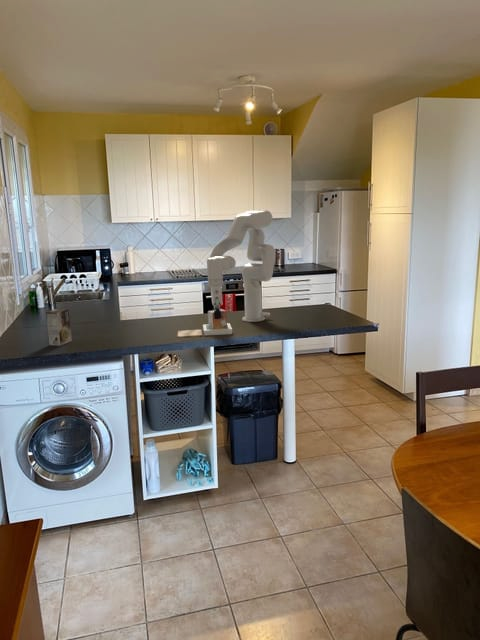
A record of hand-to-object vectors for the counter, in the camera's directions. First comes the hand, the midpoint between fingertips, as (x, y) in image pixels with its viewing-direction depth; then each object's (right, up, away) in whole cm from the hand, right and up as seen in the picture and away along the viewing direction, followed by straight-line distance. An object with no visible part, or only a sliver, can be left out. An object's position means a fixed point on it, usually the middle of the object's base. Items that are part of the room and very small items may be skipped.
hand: (217, 316), depth 246 cm
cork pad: (-14, -9, -2) cm, 16 cm away
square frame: (0, -8, +1) cm, 8 cm away
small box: (0, -7, +2) cm, 8 cm away
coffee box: (-75, -13, -12) cm, 77 cm away
